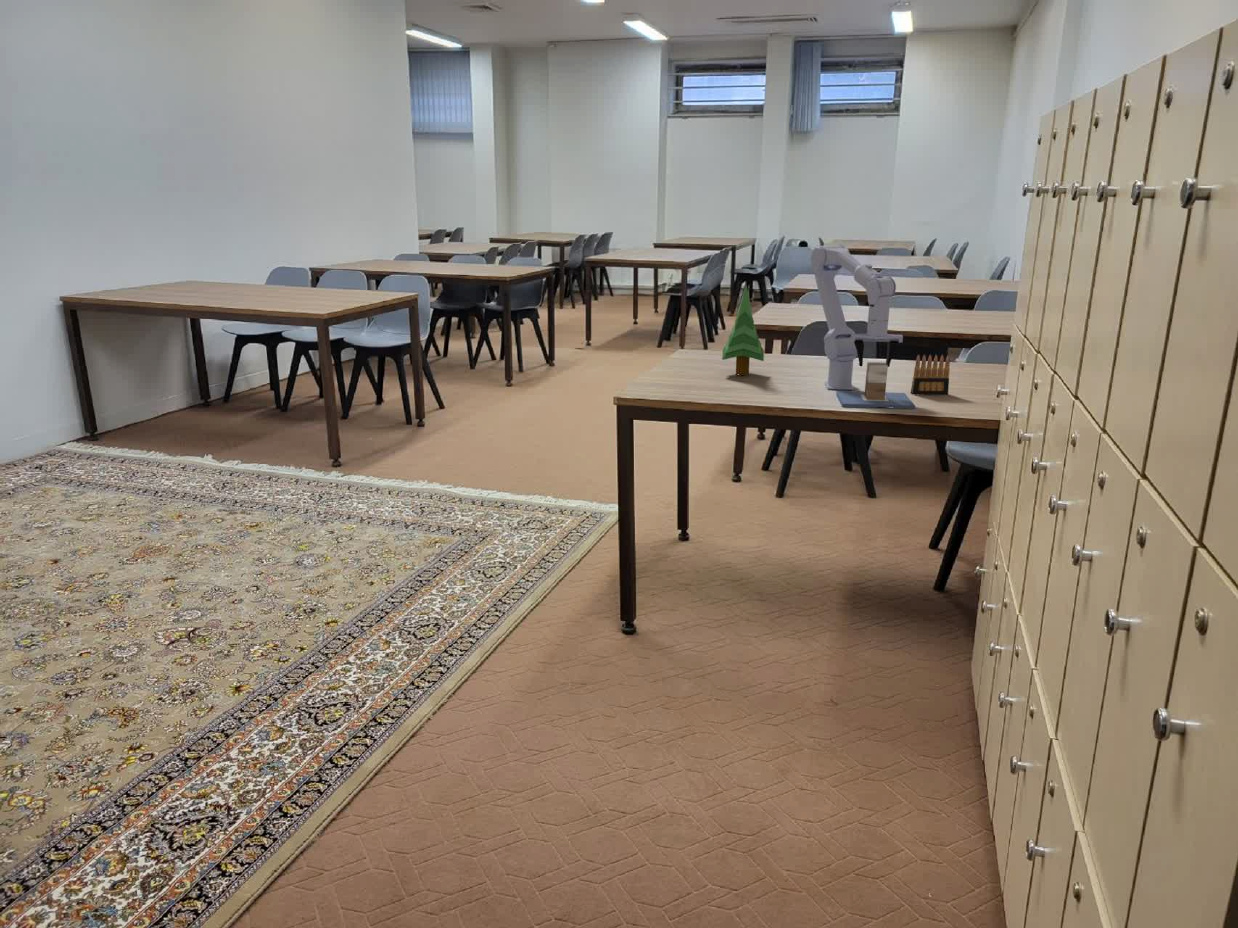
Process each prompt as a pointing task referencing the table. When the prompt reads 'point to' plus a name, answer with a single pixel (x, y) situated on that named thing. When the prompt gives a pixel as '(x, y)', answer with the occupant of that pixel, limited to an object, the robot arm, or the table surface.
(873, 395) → the walnut block
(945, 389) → the ammunition clip
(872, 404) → the board
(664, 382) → the table surface
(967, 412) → the table surface
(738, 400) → the table surface
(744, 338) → the decorative tree
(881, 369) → the off-white block
